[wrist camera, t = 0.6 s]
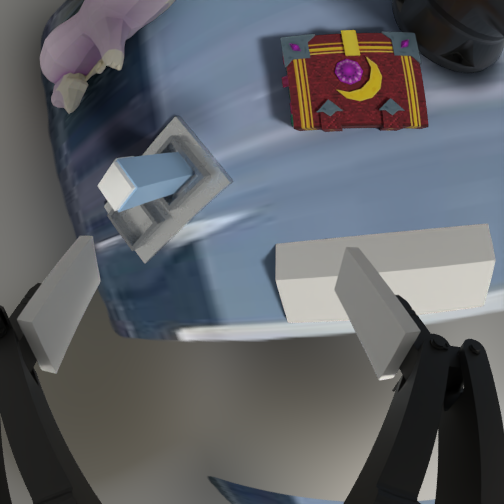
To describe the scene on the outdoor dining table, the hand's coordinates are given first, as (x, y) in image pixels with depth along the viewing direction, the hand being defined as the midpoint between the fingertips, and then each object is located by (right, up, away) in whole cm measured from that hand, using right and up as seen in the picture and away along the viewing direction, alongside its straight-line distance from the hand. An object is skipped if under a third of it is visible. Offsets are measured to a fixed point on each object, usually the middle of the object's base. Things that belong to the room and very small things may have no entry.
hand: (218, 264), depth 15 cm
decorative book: (+13, +20, +15) cm, 28 cm away
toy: (-17, +37, +19) cm, 45 cm away
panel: (-12, +9, +27) cm, 31 cm away
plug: (-8, +11, +24) cm, 28 cm away
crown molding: (+20, -2, +22) cm, 29 cm away
